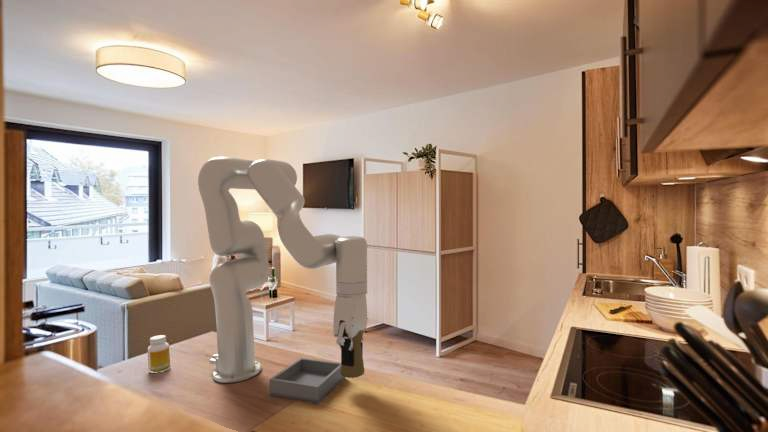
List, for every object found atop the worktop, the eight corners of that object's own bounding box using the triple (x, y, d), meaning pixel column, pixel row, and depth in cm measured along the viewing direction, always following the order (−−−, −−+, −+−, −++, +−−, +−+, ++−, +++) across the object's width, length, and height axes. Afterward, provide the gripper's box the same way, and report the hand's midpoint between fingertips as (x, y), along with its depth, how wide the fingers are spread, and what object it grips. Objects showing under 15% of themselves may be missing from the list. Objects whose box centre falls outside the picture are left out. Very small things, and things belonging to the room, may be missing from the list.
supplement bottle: (174, 368, 111) (172, 335, 110) (154, 375, 106) (152, 341, 106) (164, 364, 114) (162, 332, 113) (145, 371, 109) (143, 338, 109)
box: (270, 395, 92) (269, 379, 92) (301, 371, 105) (300, 357, 105) (318, 404, 88) (317, 387, 87) (345, 378, 100) (344, 363, 100)
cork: (360, 378, 89) (360, 333, 89) (336, 376, 90) (336, 331, 90) (367, 367, 95) (367, 324, 95) (344, 365, 96) (343, 323, 96)
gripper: (352, 279, 101) (353, 346, 102) (320, 294, 85) (321, 373, 86) (378, 281, 98) (379, 350, 99) (350, 297, 83) (350, 379, 84)
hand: (352, 360), depth 93 cm, fingers closed on cork, 4 cm apart
